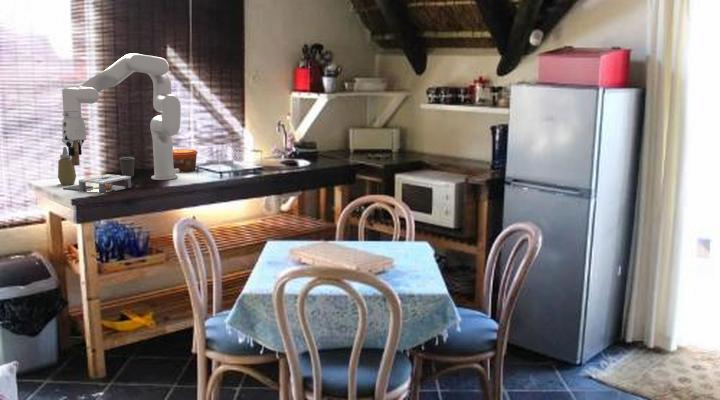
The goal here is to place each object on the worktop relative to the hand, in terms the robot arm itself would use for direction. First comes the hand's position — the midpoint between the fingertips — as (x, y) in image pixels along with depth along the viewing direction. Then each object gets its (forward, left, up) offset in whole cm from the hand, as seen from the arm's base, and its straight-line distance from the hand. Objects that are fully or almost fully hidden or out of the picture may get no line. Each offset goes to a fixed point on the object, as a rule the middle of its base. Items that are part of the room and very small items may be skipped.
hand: (75, 154), depth 323 cm
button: (-4, +13, -16) cm, 21 cm away
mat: (0, 0, -16) cm, 16 cm away
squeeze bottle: (-6, -13, -16) cm, 21 cm away
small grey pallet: (-4, +13, -16) cm, 21 cm away
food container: (-65, +9, -16) cm, 68 cm away
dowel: (0, 0, -5) cm, 5 cm away
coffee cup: (-37, -4, -16) cm, 41 cm away
